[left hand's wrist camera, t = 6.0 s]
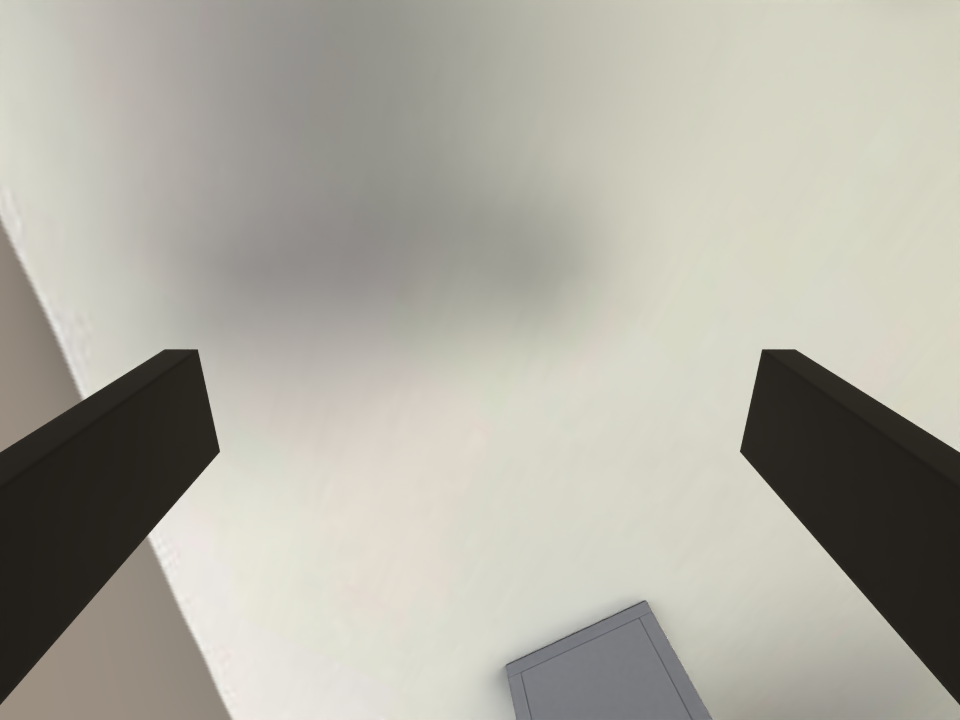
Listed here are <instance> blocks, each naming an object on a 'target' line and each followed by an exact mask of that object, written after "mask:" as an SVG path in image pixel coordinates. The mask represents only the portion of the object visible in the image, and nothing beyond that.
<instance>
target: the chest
mask: <svg viewBox="0 0 960 720" xmlns="http://www.w3.org/2000/svg"><path fill="white" fill-rule="evenodd" d="M506 670H507V675H508V680H509V685H510V690H511V695H512V700H513V704H514V709H515V714H516V719H517V720H712V718H711V716H710V715H709V713H708V711H707V709H706V707H705V706H704V704H703V702H702V700H701V698H700V697H699V695H698V693H697V691H696V689H695V688H694V686H693V684H692V682H691V681H690V679H689V677H688V675H687V673H686V672H685V670H684V668H683V666H682V664H681V663H680V661H679V659H678V657H677V655H676V654H675V652H674V650H673V648H672V646H671V645H670V643H669V641H668V639H667V638H666V636H665V634H664V632H663V630H662V629H661V627H660V625H659V623H658V621H657V620H656V618H655V616H654V614H653V613H652V611H651V609H650V607H649V605H648V603H647V602H646V601H645V602H642V603H640V604H638V605H636V606H634V607H632V608H629V609H627V610H625V611H623V612H621V613H619V614H616V615H614V616H612V617H610V618H608V619H606V620H604V621H601V622H599V623H597V624H595V625H593V626H591V627H588V628H586V629H584V630H582V631H580V632H578V633H575V634H573V635H571V636H569V637H567V638H565V639H563V640H560V641H558V642H556V643H554V644H552V645H550V646H547V647H545V648H543V649H541V650H539V651H537V652H534V653H532V654H530V655H528V656H526V657H524V658H521V659H519V660H517V661H515V662H513V663H511V664H509V665H506Z"/></svg>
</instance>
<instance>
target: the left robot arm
mask: <svg viewBox="0 0 960 720" xmlns="http://www.w3.org/2000/svg"><path fill="white" fill-rule="evenodd" d="M219 452H220V449H219V445H218V440H217V436H216V431H215V426H214V422H213V417H212V413H211V408H210V403H209V399H208V394H207V390H206V385H205V380H204V376H203V371H202V367H201V362H200V358H199V353H198V349H165V350H163V351H162V352H160V353H158V354H157V355H155V356H154V357H152V358H150V359H149V360H147V361H146V362H144V363H142V364H141V365H139V366H138V367H136V368H134V369H133V370H131V371H130V372H128V373H126V374H125V375H123V376H122V377H120V378H118V379H117V380H115V381H114V382H112V383H110V384H109V385H107V386H106V387H104V388H103V389H101V390H99V391H98V392H96V393H95V394H93V395H91V396H90V397H88V398H87V399H85V400H83V401H82V402H80V403H79V404H77V405H75V406H74V407H72V408H71V409H69V410H67V411H66V412H64V413H63V414H61V415H59V416H58V417H56V418H55V419H53V420H51V421H50V422H48V423H47V424H45V425H43V426H42V427H40V428H39V429H37V430H35V431H34V432H32V433H31V434H29V435H27V436H26V437H24V438H23V439H21V440H19V441H18V442H16V443H15V444H13V445H11V446H10V447H8V448H7V449H5V450H4V451H2V452H0V705H1V703H2V702H3V701H4V700H5V699H6V698H7V696H8V695H9V694H10V693H11V692H12V691H13V690H14V688H15V687H16V686H17V685H18V684H19V683H20V682H21V680H22V679H23V678H24V677H25V676H26V675H27V673H28V672H29V671H30V670H31V669H32V668H33V667H34V665H35V664H36V663H37V662H38V661H39V660H40V658H41V657H42V656H43V655H44V654H45V653H46V652H47V650H48V649H49V648H50V647H51V646H52V645H53V643H54V642H55V641H56V640H57V639H58V638H59V637H60V635H61V634H62V633H63V632H64V631H65V630H66V628H67V627H68V626H69V625H70V624H71V623H72V622H73V620H74V619H75V618H76V617H77V616H78V615H79V614H80V612H81V611H82V610H83V609H84V608H85V607H86V605H87V604H88V603H89V602H90V601H91V600H92V599H93V597H94V596H95V595H96V594H97V593H98V592H99V590H100V589H101V588H102V587H103V586H104V585H105V584H106V582H107V581H108V580H109V579H110V578H111V577H112V576H113V574H114V573H115V572H116V571H117V570H118V569H119V567H120V566H121V565H122V564H123V563H124V562H125V561H126V559H127V558H128V557H129V556H130V555H131V554H132V552H133V551H134V550H135V549H136V548H137V547H138V546H139V544H140V543H141V542H142V541H143V540H144V539H145V537H146V536H147V535H148V534H149V533H150V532H151V531H152V529H153V528H154V527H155V526H156V525H157V524H158V523H159V521H160V520H161V519H162V518H163V517H164V516H165V514H166V513H167V512H168V511H169V510H170V509H171V508H172V506H173V505H174V504H175V503H176V502H177V501H178V499H179V498H180V497H181V496H182V495H183V494H184V493H185V491H186V490H187V489H188V488H189V487H190V486H191V484H192V483H193V482H194V481H195V480H196V479H197V478H198V476H199V475H200V474H201V473H202V472H203V471H204V470H205V468H206V467H207V466H208V465H209V464H210V463H211V461H212V460H213V459H214V458H215V457H216V456H217V455H218V453H219ZM740 452H741V453H742V455H743V456H744V457H745V458H746V459H747V460H748V461H749V463H750V464H751V465H752V466H753V467H754V468H755V470H756V471H757V472H758V473H759V474H760V475H761V476H762V478H763V479H764V480H765V481H766V482H767V483H768V484H769V486H770V487H771V488H772V489H773V490H774V491H775V493H776V494H777V495H778V496H779V497H780V498H781V499H782V501H783V502H784V503H785V504H786V505H787V506H788V508H789V509H790V510H791V511H792V512H793V513H794V514H795V516H796V517H797V518H798V519H799V520H800V521H801V523H802V524H803V525H804V526H805V527H806V528H807V529H808V531H809V532H810V533H811V534H812V535H813V536H814V537H815V539H816V540H817V541H818V542H819V543H820V544H821V546H822V547H823V548H824V549H825V550H826V551H827V552H828V554H829V555H830V556H831V557H832V558H833V559H834V561H835V562H836V563H837V564H838V565H839V566H840V567H841V569H842V570H843V571H844V572H845V573H846V574H847V576H848V577H849V578H850V579H851V580H852V581H853V582H854V584H855V585H856V586H857V587H858V588H859V589H860V590H861V592H862V593H863V594H864V595H865V596H866V597H867V599H868V600H869V601H870V602H871V603H872V604H873V605H874V607H875V608H876V609H877V610H878V611H879V612H880V614H881V615H882V616H883V617H884V618H885V619H886V620H887V622H888V623H889V624H890V625H891V626H892V627H893V629H894V630H895V631H896V632H897V633H898V634H899V635H900V637H901V638H902V639H903V640H904V641H905V642H906V644H907V645H908V646H909V647H910V648H911V649H912V650H913V652H914V653H915V654H916V655H917V656H918V657H919V658H920V660H921V661H922V662H923V663H924V664H925V665H926V667H927V668H928V669H929V670H930V671H931V672H932V673H933V675H934V676H935V677H936V678H937V679H938V680H939V682H940V683H941V684H942V685H943V686H944V687H945V688H946V690H947V691H948V692H949V693H950V694H951V695H952V697H953V698H954V699H955V700H956V701H957V702H958V703H959V705H960V452H958V451H956V450H955V449H953V448H952V447H950V446H949V445H947V444H945V443H944V442H942V441H941V440H939V439H937V438H936V437H934V436H933V435H931V434H929V433H928V432H926V431H925V430H923V429H921V428H920V427H918V426H917V425H915V424H913V423H912V422H910V421H909V420H907V419H905V418H904V417H902V416H901V415H899V414H897V413H896V412H894V411H893V410H891V409H889V408H888V407H886V406H885V405H883V404H881V403H880V402H878V401H877V400H875V399H873V398H872V397H870V396H869V395H867V394H865V393H864V392H862V391H861V390H859V389H857V388H856V387H854V386H853V385H851V384H850V383H848V382H846V381H845V380H843V379H842V378H840V377H838V376H837V375H835V374H834V373H832V372H830V371H829V370H827V369H826V368H824V367H822V366H821V365H819V364H818V363H816V362H814V361H813V360H811V359H810V358H808V357H806V356H805V355H803V354H802V353H800V352H798V351H797V350H795V349H762V353H761V358H760V362H759V367H758V371H757V376H756V380H755V385H754V390H753V394H752V399H751V403H750V408H749V413H748V417H747V422H746V426H745V431H744V436H743V440H742V445H741V449H740Z"/></svg>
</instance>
